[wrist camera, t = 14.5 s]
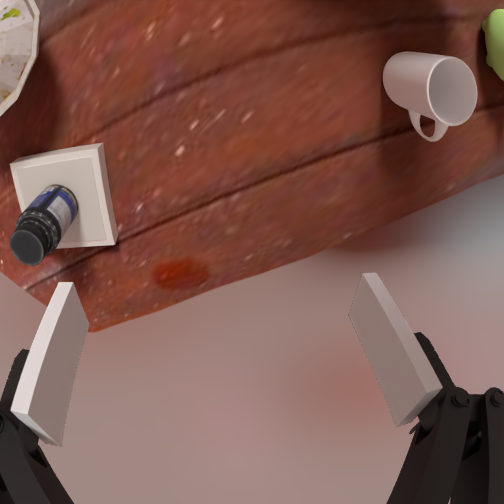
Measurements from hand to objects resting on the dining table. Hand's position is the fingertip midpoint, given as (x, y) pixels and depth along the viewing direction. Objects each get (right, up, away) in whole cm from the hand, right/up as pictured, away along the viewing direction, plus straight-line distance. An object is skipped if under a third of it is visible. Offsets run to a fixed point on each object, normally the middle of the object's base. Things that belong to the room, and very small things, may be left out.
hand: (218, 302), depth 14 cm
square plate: (-25, +10, +25) cm, 37 cm away
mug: (+23, +25, +23) cm, 41 cm away
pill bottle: (-24, +9, +23) cm, 35 cm away
